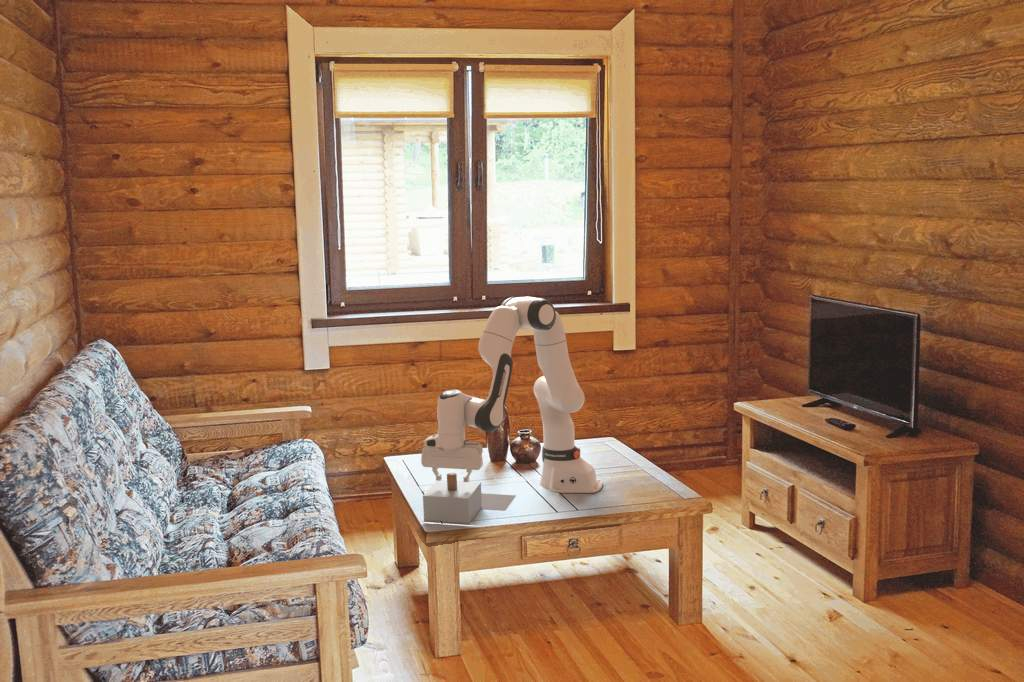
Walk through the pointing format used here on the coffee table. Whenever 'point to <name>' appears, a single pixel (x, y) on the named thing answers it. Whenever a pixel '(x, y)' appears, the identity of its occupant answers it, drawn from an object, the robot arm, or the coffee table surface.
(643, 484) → the coffee table surface
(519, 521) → the coffee table surface
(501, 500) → the mat
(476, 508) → the cover
